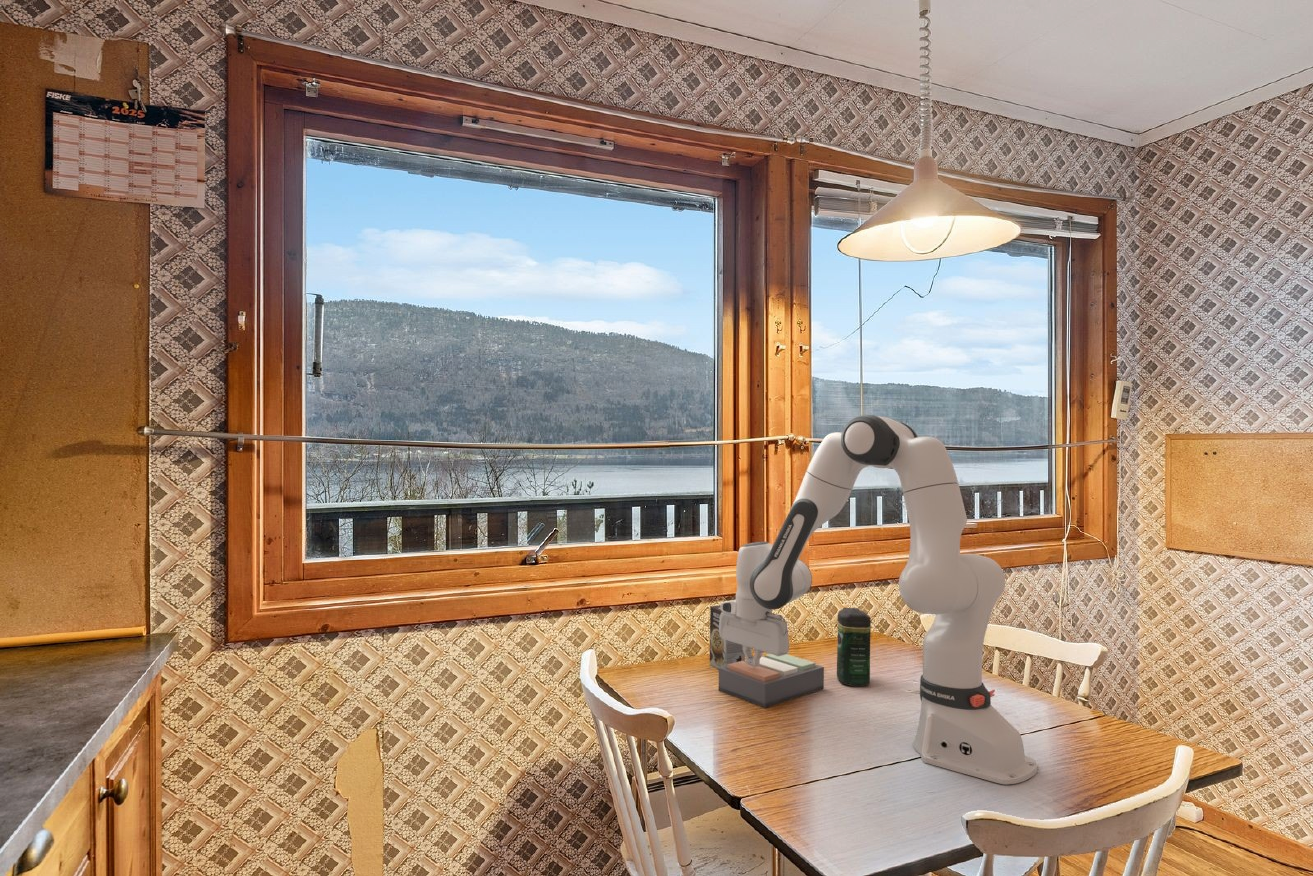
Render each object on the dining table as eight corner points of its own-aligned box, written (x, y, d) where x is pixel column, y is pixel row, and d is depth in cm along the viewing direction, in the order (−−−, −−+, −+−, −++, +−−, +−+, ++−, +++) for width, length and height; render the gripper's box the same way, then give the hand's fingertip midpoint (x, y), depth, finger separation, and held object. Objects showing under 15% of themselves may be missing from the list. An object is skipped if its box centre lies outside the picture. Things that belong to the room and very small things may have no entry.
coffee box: (708, 664, 202) (709, 606, 202) (728, 662, 204) (729, 604, 205) (725, 674, 193) (725, 613, 194) (745, 671, 196) (746, 611, 196)
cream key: (797, 680, 178) (797, 667, 178) (783, 684, 175) (783, 671, 175) (760, 667, 188) (760, 656, 188) (746, 671, 184) (746, 659, 184)
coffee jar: (873, 688, 184) (874, 614, 184) (841, 687, 184) (842, 613, 184) (863, 676, 194) (864, 605, 194) (833, 675, 194) (834, 605, 194)
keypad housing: (823, 689, 182) (823, 667, 182) (764, 708, 168) (765, 684, 169) (777, 673, 194) (777, 653, 194) (718, 690, 180) (718, 668, 180)
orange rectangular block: (779, 685, 174) (779, 673, 174) (764, 690, 171) (764, 677, 171) (741, 672, 183) (742, 660, 183) (727, 676, 180) (727, 664, 180)
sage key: (815, 674, 183) (815, 662, 183) (801, 678, 179) (802, 666, 179) (777, 663, 192) (778, 651, 192) (764, 666, 189) (764, 655, 189)
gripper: (795, 615, 171) (794, 674, 171) (733, 599, 187) (732, 653, 187) (777, 618, 167) (776, 679, 167) (715, 602, 183) (714, 657, 183)
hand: (752, 665), depth 177 cm, fingers closed
